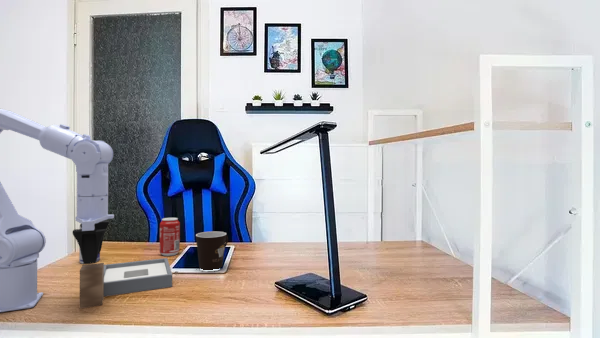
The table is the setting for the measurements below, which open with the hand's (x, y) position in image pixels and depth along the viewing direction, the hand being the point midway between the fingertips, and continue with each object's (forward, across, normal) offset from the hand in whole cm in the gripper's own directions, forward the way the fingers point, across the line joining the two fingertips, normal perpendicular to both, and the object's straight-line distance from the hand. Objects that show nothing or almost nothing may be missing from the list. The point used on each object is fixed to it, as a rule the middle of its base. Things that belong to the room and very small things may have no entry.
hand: (92, 258), depth 70 cm
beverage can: (+10, +35, -18) cm, 41 cm away
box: (+10, +11, -8) cm, 17 cm away
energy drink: (+10, +36, +4) cm, 38 cm away
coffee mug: (+10, +14, -30) cm, 34 cm away
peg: (+10, 0, 0) cm, 10 cm away
